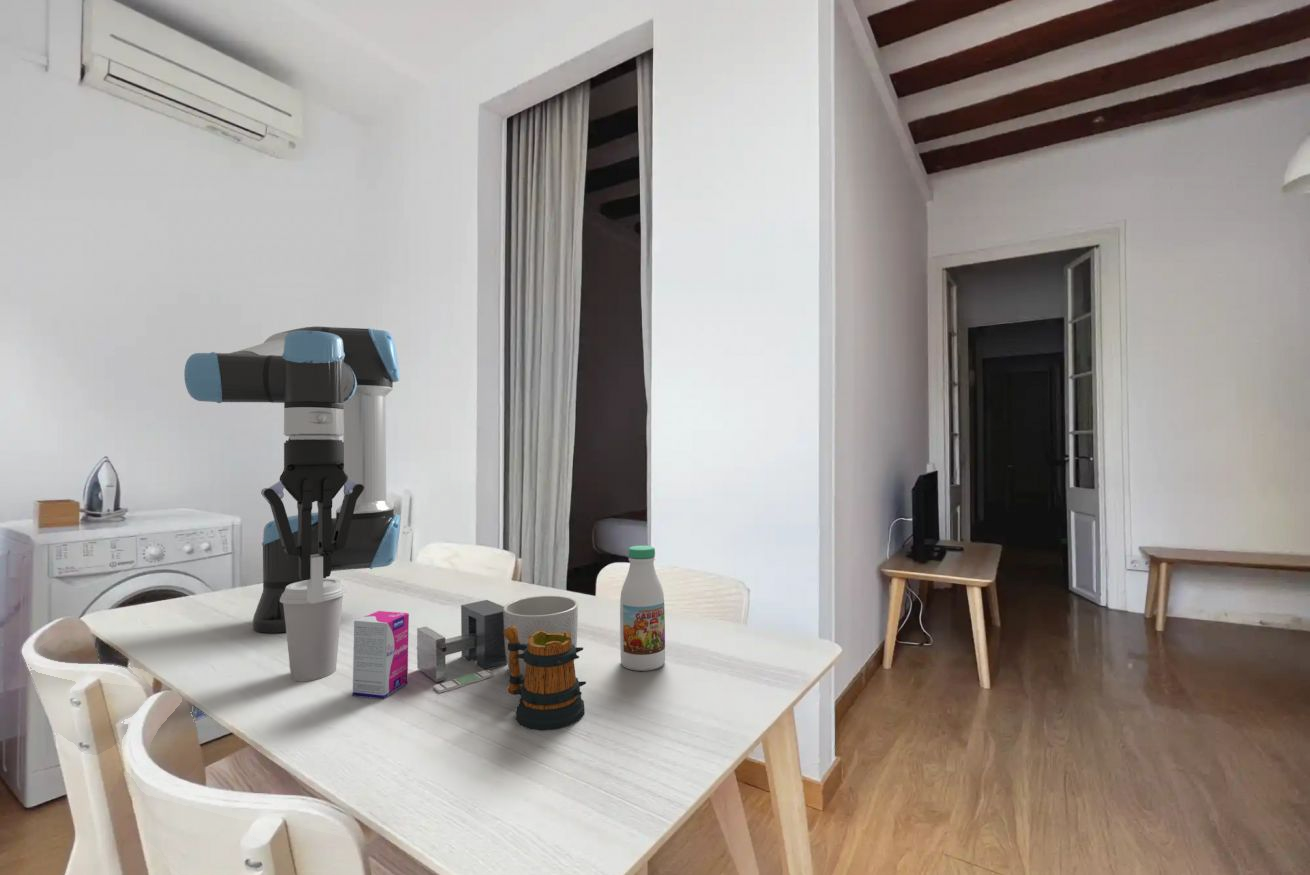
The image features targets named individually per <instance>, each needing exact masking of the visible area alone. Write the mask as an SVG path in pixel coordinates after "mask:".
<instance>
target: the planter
mask: <svg viewBox="0 0 1310 875" xmlns="http://www.w3.org/2000/svg"><path fill="white" fill-rule="evenodd" d="M503 607H504V608H503V620H504V630H506V629H507V628H509V627H511V626H515V627H516V629H517V631H518V637H519V642H521V644H522V643H524V644H528V641H529V636H531V635H532V634H534V633H535V632H537V631H538V630H540V631H544V632H546V633H562V634H564V632H569V633H571V642H572V644H573V645H575V647H577V646H578V623H579V622H578V620H579V618H578V617H579V602H578V601H577V600H575V599H573V598H571V597H567V596H560V595H537V596H536V595H535V596H529V597H524V598H519V599H514V600H513V601H510V602H509V603H507V604H505V605H504V606H503ZM504 642H505V654H506V660H507V664H506V665H507V667H508V669H509V670H510V666H509V653H510V651H509V650H508V643H509V641H508V639H507V638H506V637H505V636H504ZM522 653H524V651H522V650H519V654H522ZM575 660H576V659H574V661H575ZM519 663H520V674H522V677H523V678H525V671H526V662H524V660H523V659H521V658H519Z"/></svg>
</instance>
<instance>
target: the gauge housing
mask: <svg viewBox="0 0 1310 875" xmlns="http://www.w3.org/2000/svg"><path fill="white" fill-rule="evenodd" d="M503 608H504V606H503V605H501V604H499V603H496V602H494V601H491V600H488V599H484V600H480V601H475V602H470V603H465V604H461V605H460V610H461V611H460V616H461V618H460V621H461V622H460V623H461V624H460V626H461V628H460V629H461V630H460V633H461V635H465V634H469V633H473V632H476V638H477V647H475V648H472V649H468V650H464V651H461V658H463V659H464V660H467V661H468V662H471V661H474V660H476V667H478V668H480V669H482V671H484V670H489V671H490V670H492V669H495V668H498V667H502V666H505V665H508V664H507V660H506V654H505V642H504V634H503V631H504V620H503ZM461 635H460V636H461Z"/></svg>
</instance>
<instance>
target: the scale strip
mask: <svg viewBox="0 0 1310 875" xmlns="http://www.w3.org/2000/svg"><path fill="white" fill-rule="evenodd" d="M493 677H495V674H494V673H493V672H492V671H490V669H489V670H481V671H478V672H475V673H470V674H467V675H463V676H461V677H460V676H459V677H457V678H455V679H451V680H448V681H445V682H441V683H439V684H435V685H433V688H432V689H433V690H435V691H437V693H439V694H441V693H442V694H443V692H447V691H452V690H454V689H458V688H461V687H463V686H467V685H470V684H473V683H476V682H480V681H482V680H486V679H489V678H493ZM457 687H458V688H457Z"/></svg>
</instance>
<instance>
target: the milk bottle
mask: <svg viewBox="0 0 1310 875" xmlns="http://www.w3.org/2000/svg"><path fill="white" fill-rule="evenodd" d="M655 549H656V548H655V547H654V546H651V545H634V546H633V545H632V546H629V548H628V549H627V551H628V552H627V553H628V560H627V561H629V566H628V567H629V568H628V572H627V574H626V577H625V580H624V582H623V585H622V587H621V590H620V591H621V592H620V601H619V602H620V604H619V608H620V609H619V614H620V615H619V616H620V617H619V618H620V619H619V622H620V623H619V625H620V626H619V627H620V628H619V631H620V632H619V633H620V634H619V636H620V639H619V640H620V643H619V644H620V662H621V665H622V666H623V667H624V668H625V669H628V670H631V671H636V672H639V671H640V672H643V671H653V670H657V669H659V668H661V667H662V666H664V664H665V663H666V662H665V661H666V621H665V619H666V618H665V617H666V616H665V614H666V612H665V595H664V590H663V586H662V583H661V581H660V579H659V577H658V574H657V571H656V568H655V562H654V561H656V557H655V556H656V550H655Z"/></svg>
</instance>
